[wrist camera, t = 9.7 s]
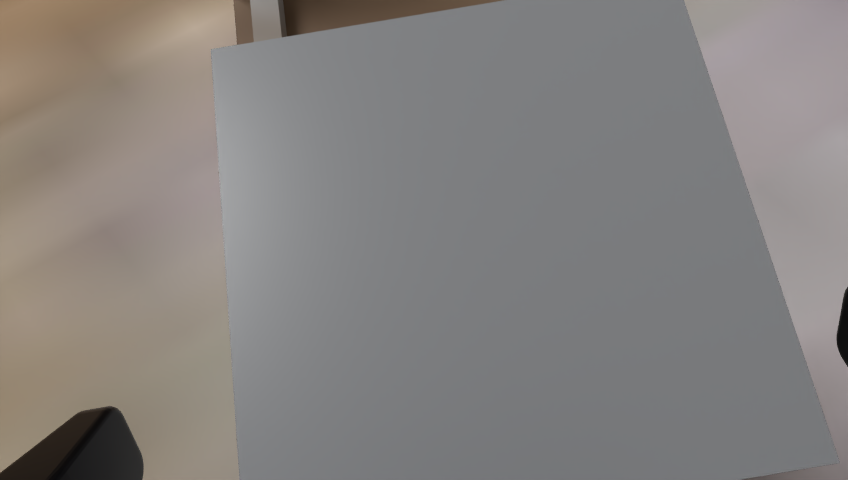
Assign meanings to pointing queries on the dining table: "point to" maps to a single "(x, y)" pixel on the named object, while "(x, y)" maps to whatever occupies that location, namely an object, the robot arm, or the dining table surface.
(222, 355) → the dining table surface
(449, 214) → the carriage
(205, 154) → the dining table surface
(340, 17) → the track
